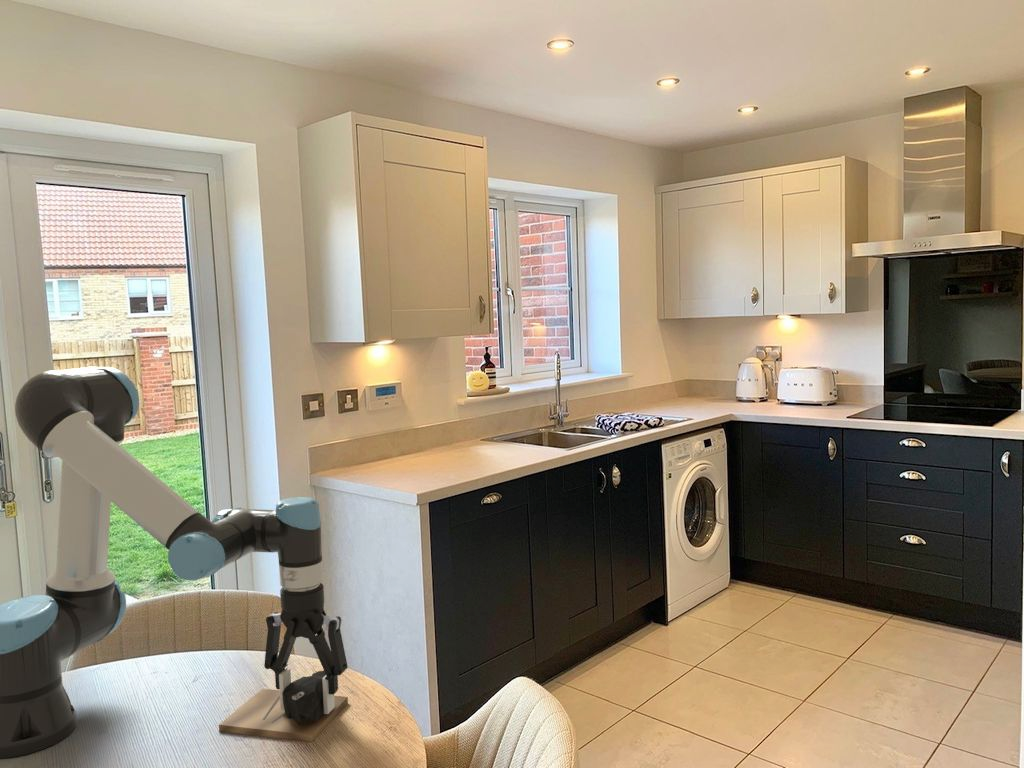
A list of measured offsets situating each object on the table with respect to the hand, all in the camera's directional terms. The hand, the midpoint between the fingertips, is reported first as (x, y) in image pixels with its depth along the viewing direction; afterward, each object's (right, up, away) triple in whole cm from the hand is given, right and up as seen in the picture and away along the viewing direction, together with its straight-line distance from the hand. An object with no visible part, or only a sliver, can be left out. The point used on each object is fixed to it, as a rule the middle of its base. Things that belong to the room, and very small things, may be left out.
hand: (307, 708), depth 142 cm
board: (-4, -2, +1) cm, 5 cm away
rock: (0, -1, 0) cm, 1 cm away
